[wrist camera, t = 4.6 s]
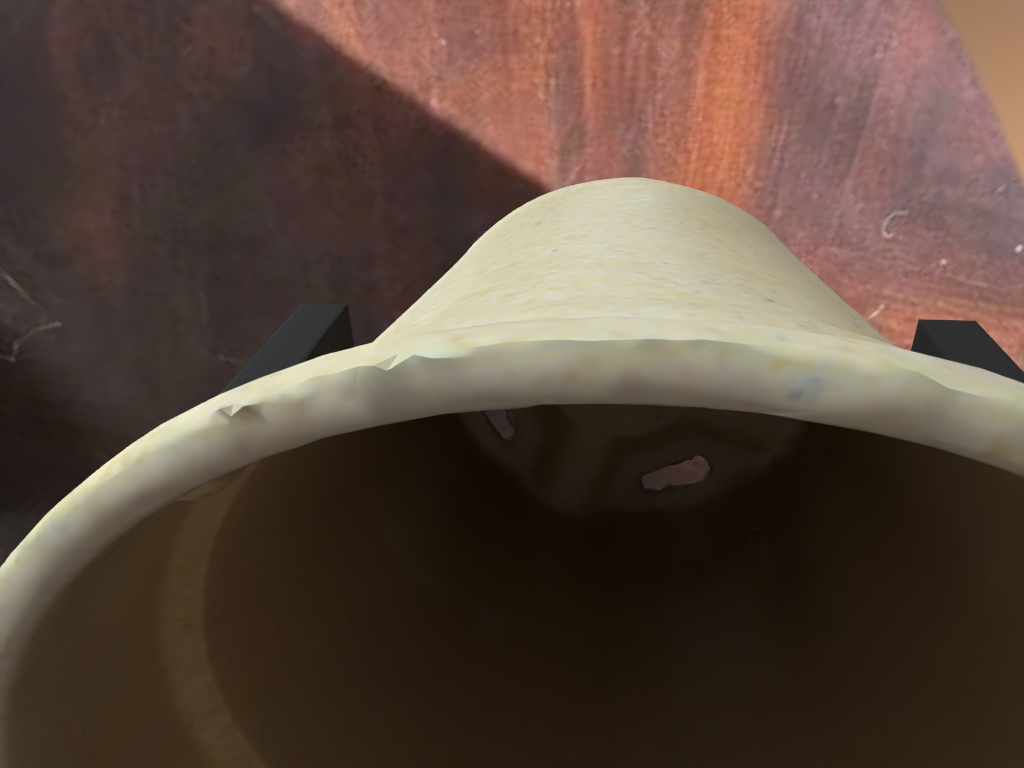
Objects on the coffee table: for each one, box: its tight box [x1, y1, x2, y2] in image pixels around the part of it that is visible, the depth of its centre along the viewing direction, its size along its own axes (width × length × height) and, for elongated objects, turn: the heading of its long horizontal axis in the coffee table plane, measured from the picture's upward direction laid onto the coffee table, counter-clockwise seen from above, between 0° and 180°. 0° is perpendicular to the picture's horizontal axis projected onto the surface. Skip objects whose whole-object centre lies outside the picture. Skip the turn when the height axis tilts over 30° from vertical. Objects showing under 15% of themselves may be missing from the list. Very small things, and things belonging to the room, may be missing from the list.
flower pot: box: [0, 178, 1024, 768], centre depth 9 cm, size 9×9×9 cm
